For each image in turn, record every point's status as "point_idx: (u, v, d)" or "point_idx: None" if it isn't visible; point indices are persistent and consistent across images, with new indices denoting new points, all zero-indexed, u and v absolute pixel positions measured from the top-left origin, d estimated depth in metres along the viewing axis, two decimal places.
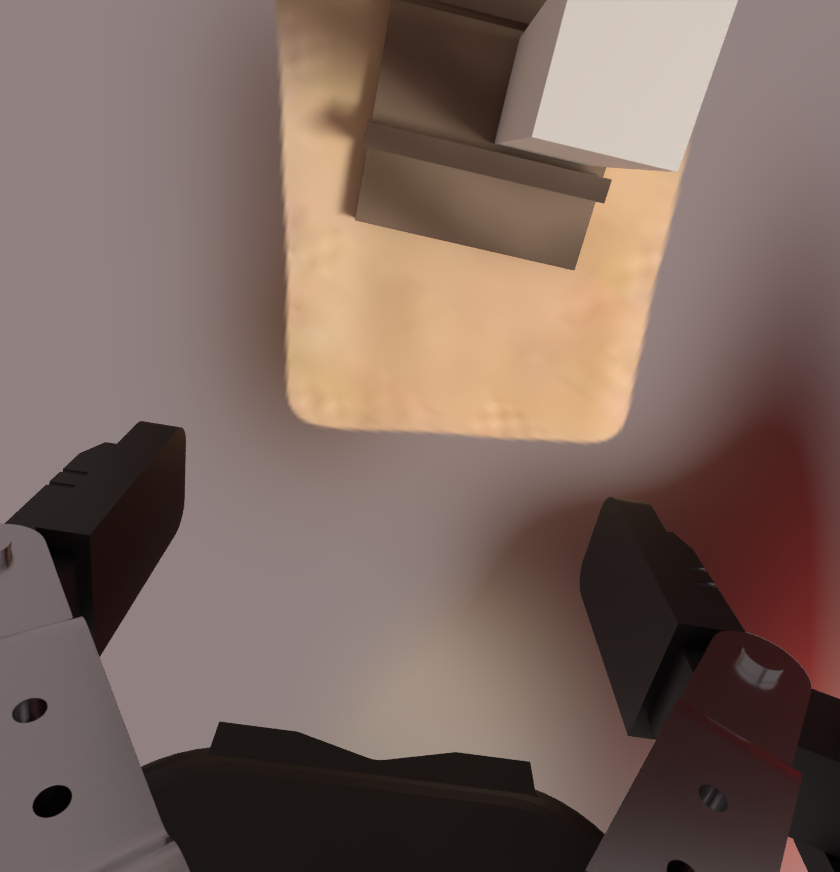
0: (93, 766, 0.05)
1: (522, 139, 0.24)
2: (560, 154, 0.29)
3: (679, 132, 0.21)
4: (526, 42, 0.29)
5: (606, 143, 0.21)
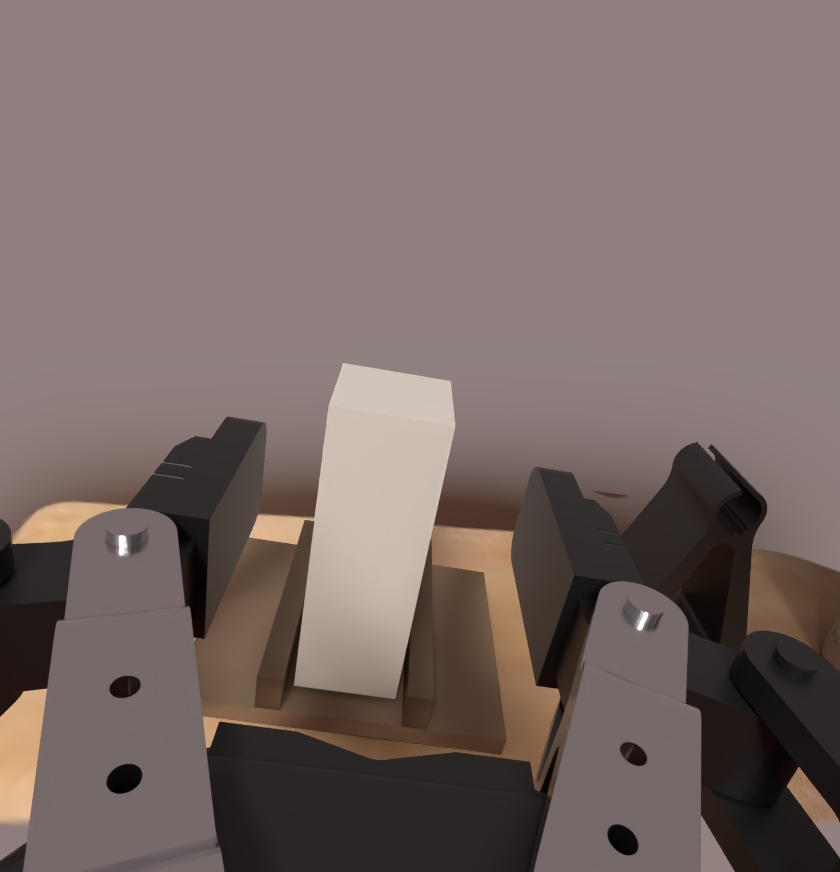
0: (166, 753, 0.05)
1: None
2: None
3: (358, 406, 0.26)
4: None
5: (344, 383, 0.27)
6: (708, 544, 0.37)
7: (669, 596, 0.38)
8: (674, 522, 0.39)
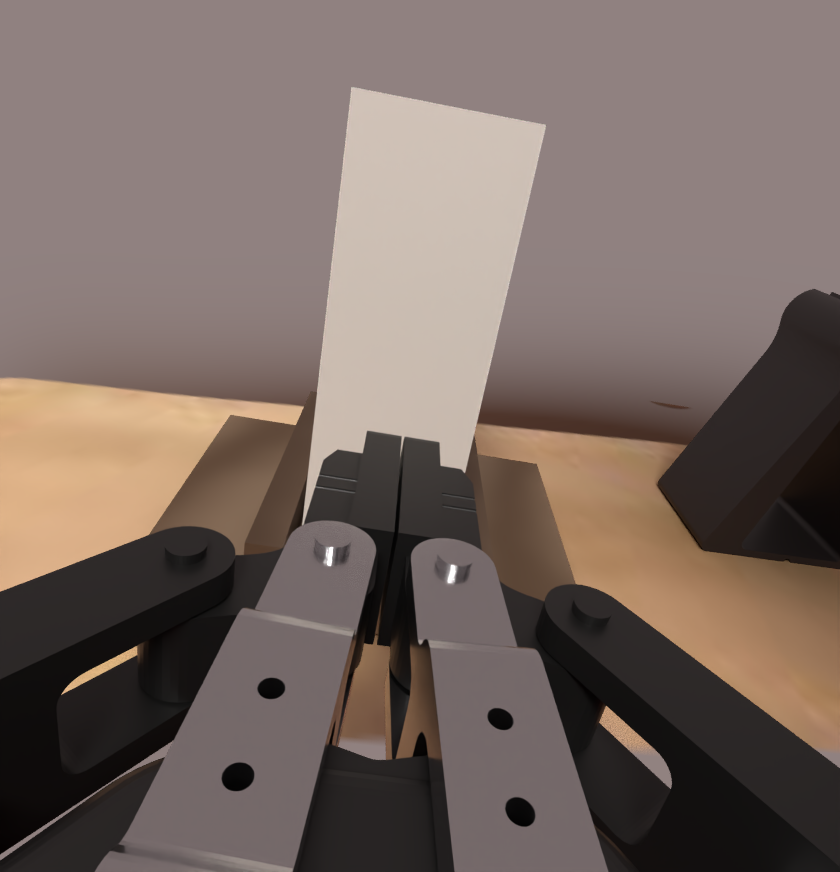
0: (281, 767, 0.05)
1: None
2: None
3: None
4: None
5: None
6: None
7: (787, 478, 0.29)
8: (789, 386, 0.30)
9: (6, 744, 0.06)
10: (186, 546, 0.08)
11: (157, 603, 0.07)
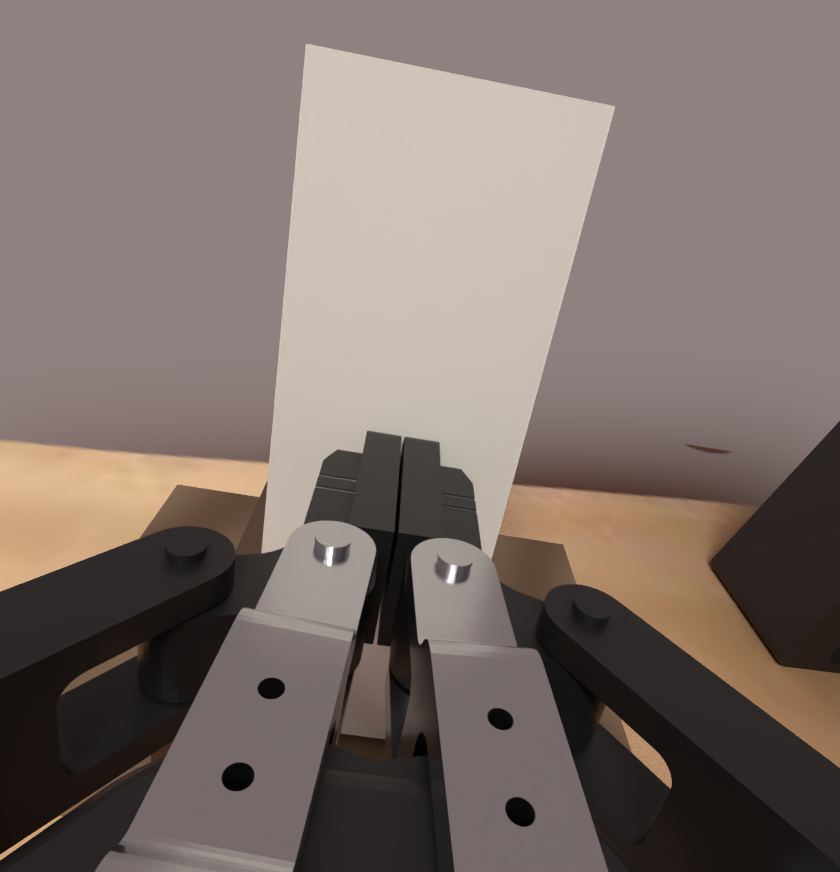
0: (281, 767, 0.05)
1: None
2: None
3: None
4: None
5: None
6: None
7: None
8: None
9: (6, 744, 0.06)
10: (186, 546, 0.08)
11: (157, 603, 0.07)
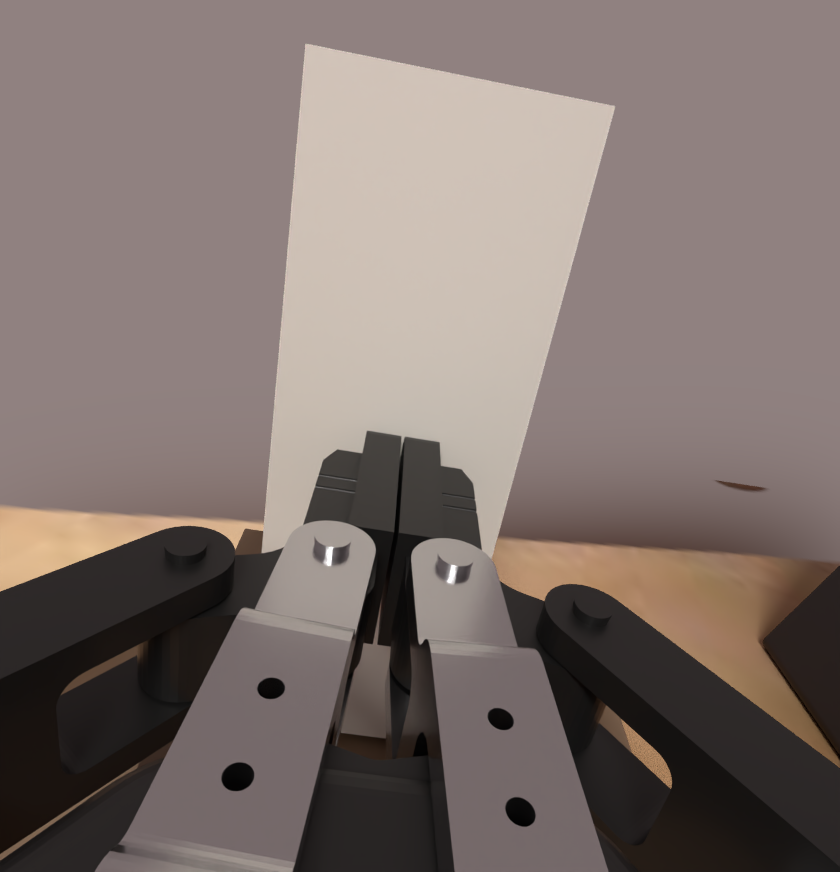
0: (280, 767, 0.05)
1: None
2: None
3: None
4: None
5: None
6: None
7: None
8: None
9: (6, 744, 0.06)
10: (186, 547, 0.08)
11: (156, 603, 0.07)
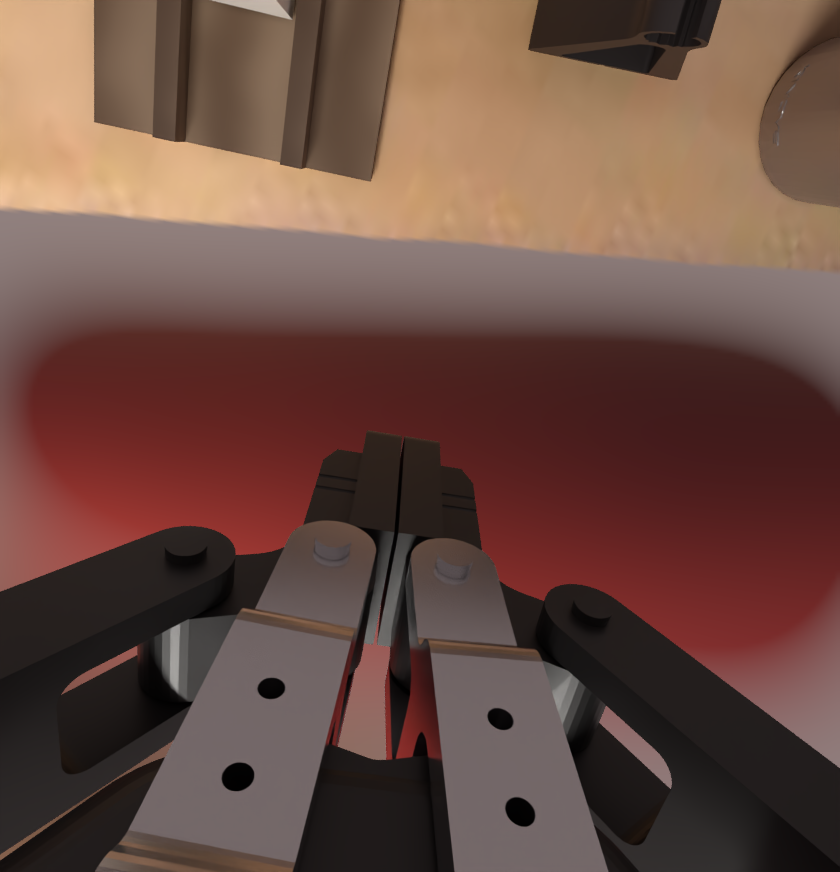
0: (281, 766, 0.05)
1: None
2: None
3: None
4: None
5: None
6: (633, 42, 0.30)
7: (590, 49, 0.34)
8: None
9: (6, 744, 0.06)
10: (186, 546, 0.08)
11: (157, 603, 0.07)
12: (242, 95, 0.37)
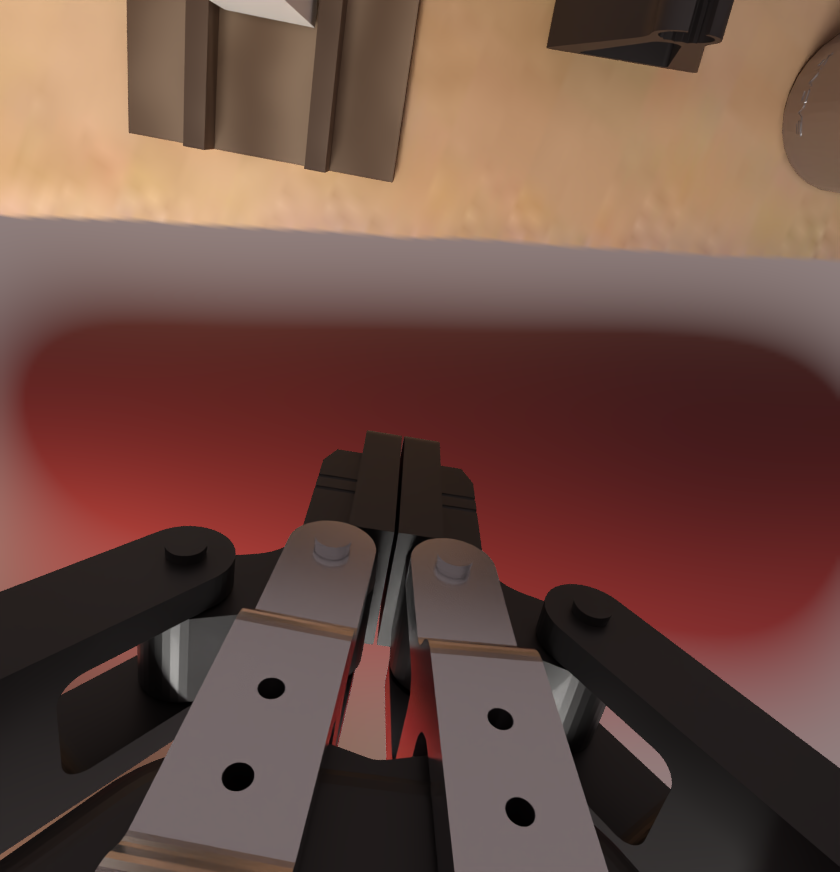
0: (281, 767, 0.05)
1: None
2: None
3: None
4: None
5: None
6: (648, 40, 0.30)
7: (607, 46, 0.34)
8: None
9: (6, 744, 0.06)
10: (186, 547, 0.08)
11: (157, 604, 0.07)
12: (267, 102, 0.38)
